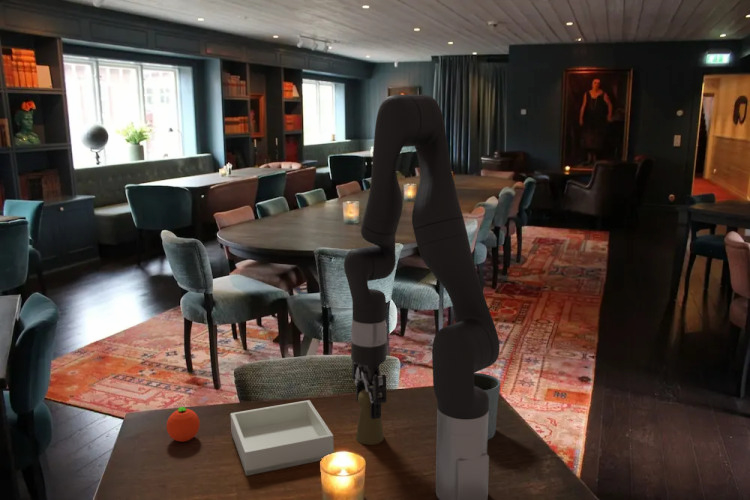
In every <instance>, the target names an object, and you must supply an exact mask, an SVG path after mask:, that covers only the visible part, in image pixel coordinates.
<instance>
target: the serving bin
mask: <svg viewBox="0 0 750 500" xmlns="http://www.w3.org/2000/svg"><path fill="white" fill-rule="evenodd" d="M230 427H231V428H230V429H231V436H232V439H233V442H234V445H235V448H236V451H237V453H238V455H239V460H240V463H241V465H242V467H243V470H244V473H245V476H246V477H247V476H251V475H257V474H262V473H267V472H272V471H276V470H281V469H286V468H291V467H294V466H295V467H296V466H300V465H301V466H302V465H306V464H310V463H316V462H319V461H320V459H321V458H323V457H324V456H326V455H328V454H331V453H334V448H335V447H334V434H333V433H332V431H331V430H330V428H329V427H328V425H327V423H326V422H325V421H324V419H323V418H322V417H321V415H320V414H319V412H318V410H317V409H316V408H315V406H314V405H313V403H312V402H311V400H310V399H307V400H302V401H296V402H290V403H284V404H279V405H271V406H267V407H266V406H265V407H260V408H254V409H249V410H243V411H235V412H231V413H230Z"/></svg>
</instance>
